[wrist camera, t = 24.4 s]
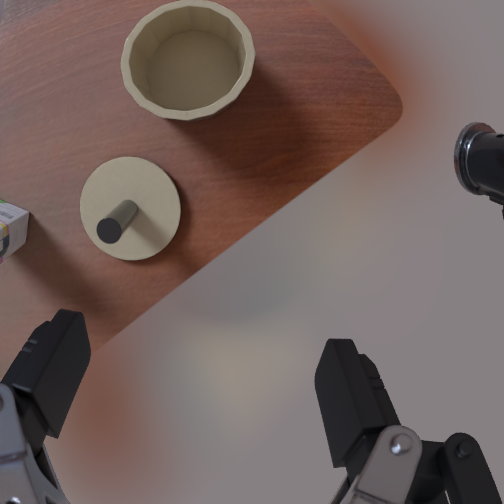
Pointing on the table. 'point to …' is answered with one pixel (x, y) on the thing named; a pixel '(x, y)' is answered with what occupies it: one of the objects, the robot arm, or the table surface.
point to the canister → (188, 60)
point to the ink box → (12, 229)
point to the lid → (130, 208)
